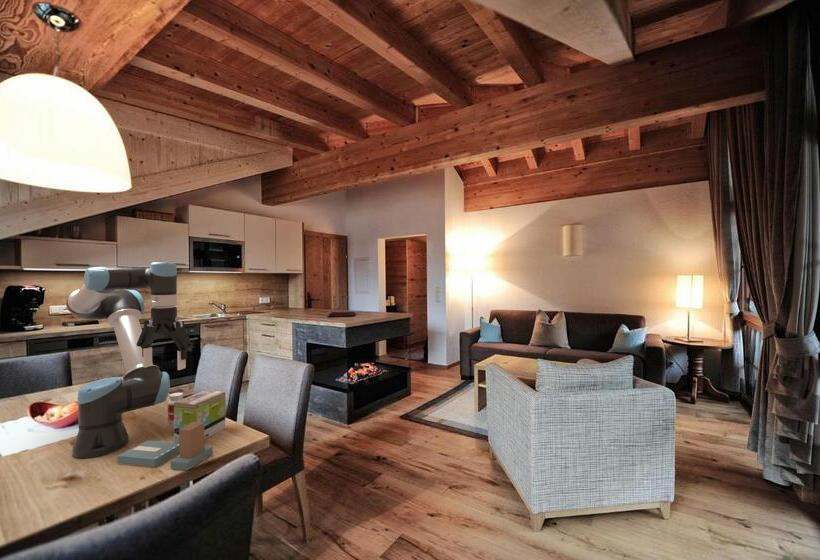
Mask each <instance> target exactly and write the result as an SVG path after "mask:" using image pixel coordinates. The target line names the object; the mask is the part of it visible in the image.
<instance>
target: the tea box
mask: <svg viewBox="0 0 820 560" xmlns="http://www.w3.org/2000/svg"><path fill="white" fill-rule="evenodd" d="M183 398H184V399H182V400H179V401H177V402H174V423H173V443H179V429H181V428H183V427H185V426H186V425H188V424H190V423H192V422H203V423H204V438H205V440H206V439H208V438H210V437H211V436H213V435H215V434H217V433H219V432H220V431H222V430H224V429H225V428H226V391H222V390H221V391H218V390H217V391H216V390H208V389H207V390H202V391H199V392H197V393H195V394H192V395H189V396H187V397H183Z"/></svg>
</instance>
